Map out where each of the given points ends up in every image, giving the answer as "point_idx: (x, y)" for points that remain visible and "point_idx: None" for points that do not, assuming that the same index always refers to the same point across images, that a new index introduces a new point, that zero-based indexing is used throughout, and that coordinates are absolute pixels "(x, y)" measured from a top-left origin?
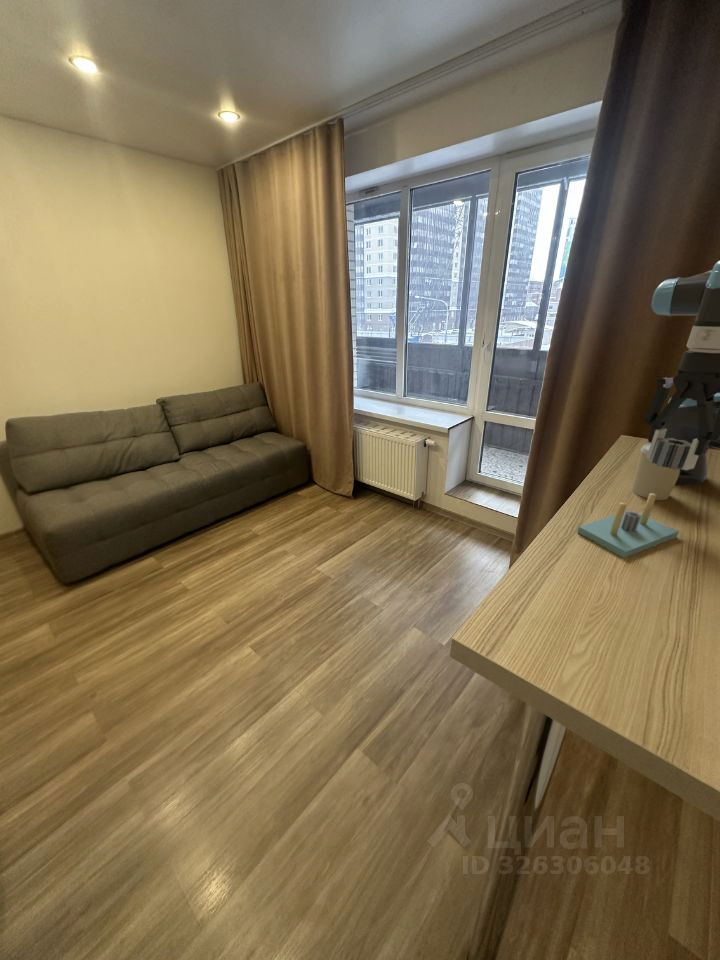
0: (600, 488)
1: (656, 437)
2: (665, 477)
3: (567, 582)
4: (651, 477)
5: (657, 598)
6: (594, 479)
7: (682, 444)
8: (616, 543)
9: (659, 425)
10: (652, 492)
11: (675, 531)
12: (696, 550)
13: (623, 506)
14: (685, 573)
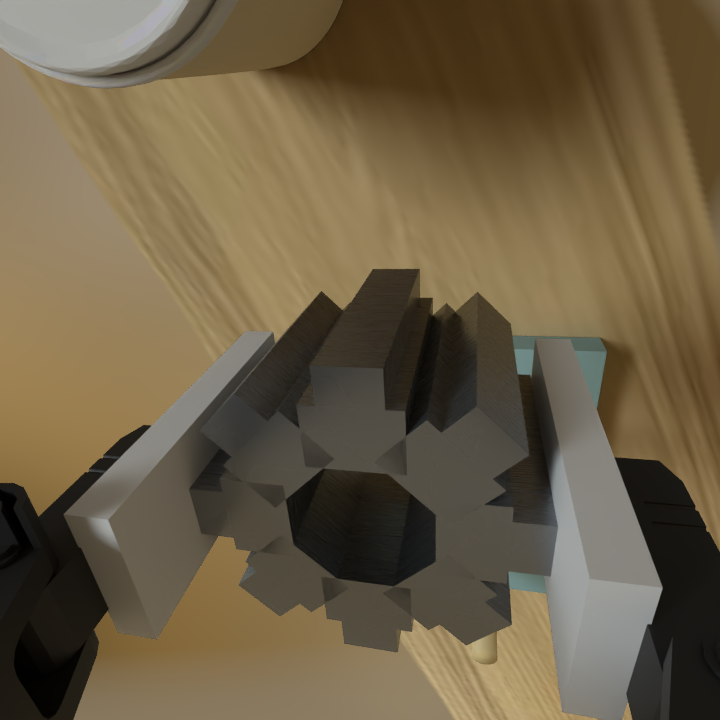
0: (155, 189)
1: (195, 562)
2: (295, 6)
3: (541, 710)
4: (244, 65)
5: None
6: (54, 111)
7: (443, 560)
8: (522, 579)
9: (78, 674)
10: (304, 48)
11: (598, 366)
12: (692, 369)
13: (493, 659)
14: (713, 524)
